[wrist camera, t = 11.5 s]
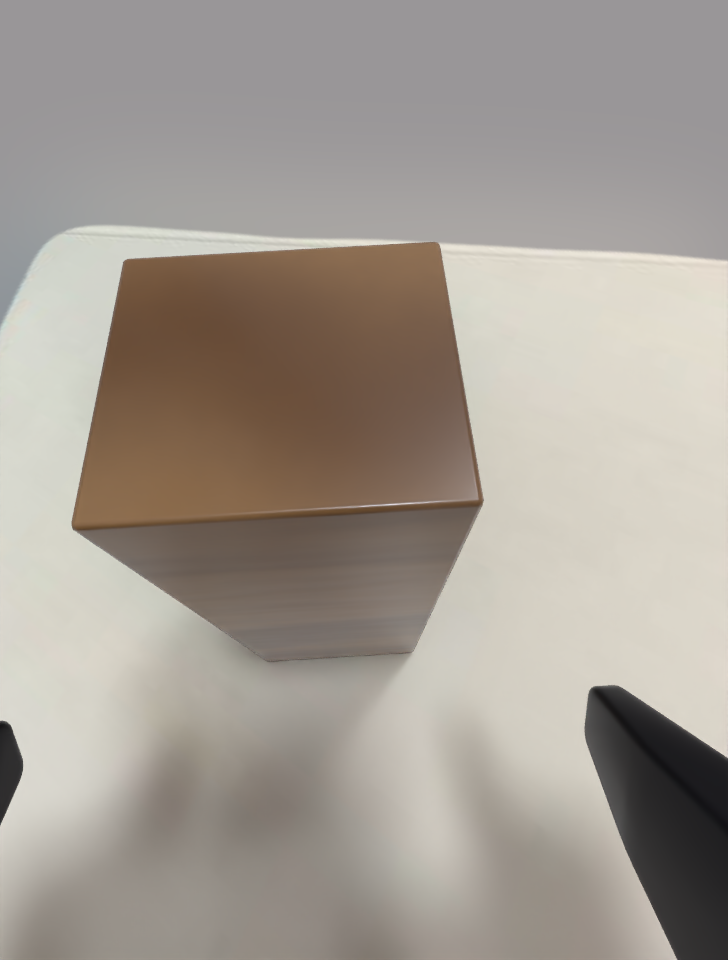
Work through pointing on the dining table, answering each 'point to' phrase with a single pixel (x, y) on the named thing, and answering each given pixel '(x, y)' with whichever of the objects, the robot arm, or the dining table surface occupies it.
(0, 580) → the dining table surface
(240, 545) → the brown box
